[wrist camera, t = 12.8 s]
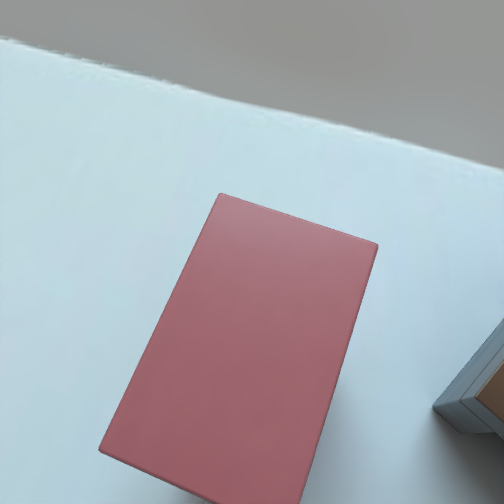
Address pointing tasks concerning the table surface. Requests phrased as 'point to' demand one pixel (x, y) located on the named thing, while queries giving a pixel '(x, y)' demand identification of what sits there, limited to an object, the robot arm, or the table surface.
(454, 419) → the shelf
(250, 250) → the packet
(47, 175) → the table surface
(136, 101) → the table surface
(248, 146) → the table surface
